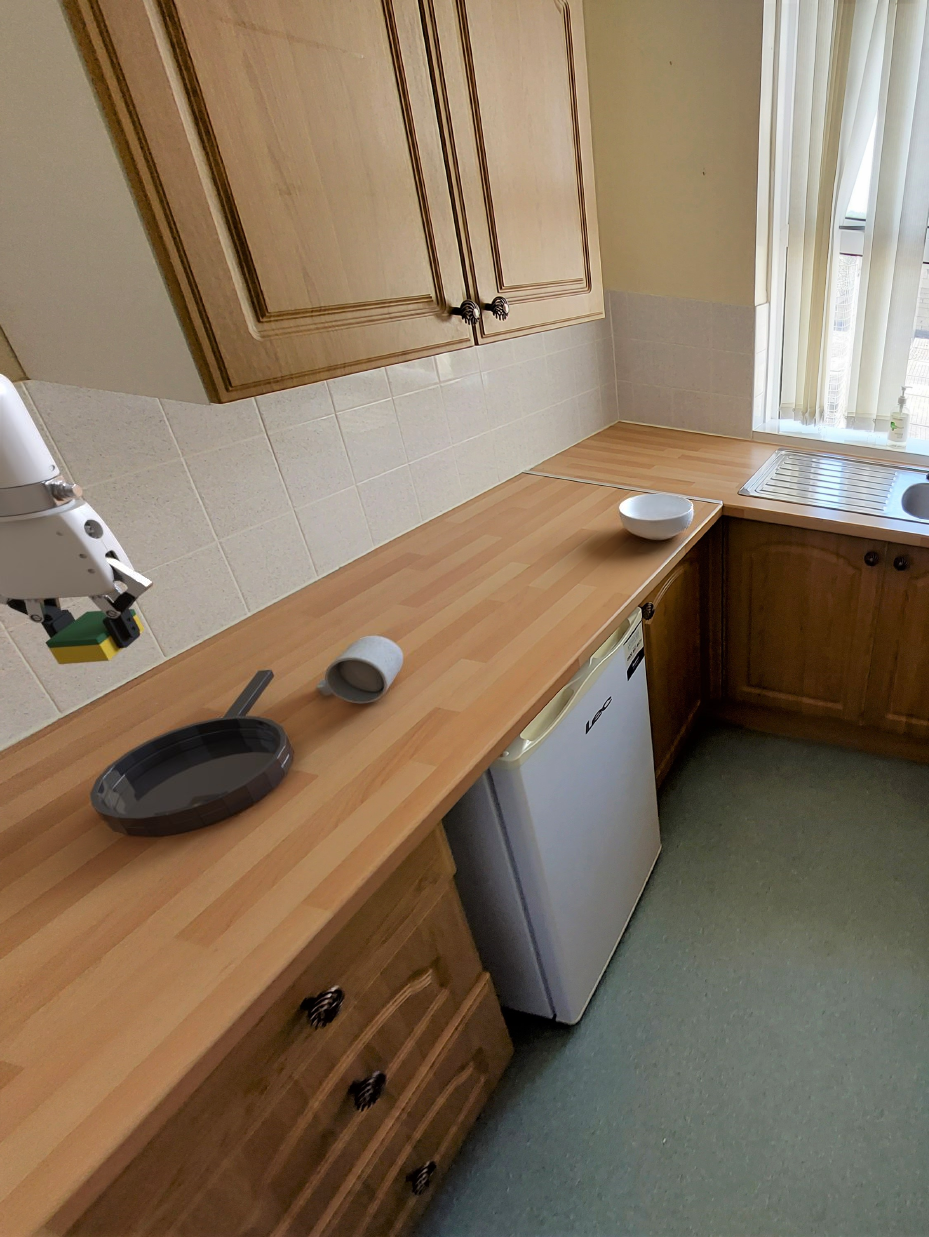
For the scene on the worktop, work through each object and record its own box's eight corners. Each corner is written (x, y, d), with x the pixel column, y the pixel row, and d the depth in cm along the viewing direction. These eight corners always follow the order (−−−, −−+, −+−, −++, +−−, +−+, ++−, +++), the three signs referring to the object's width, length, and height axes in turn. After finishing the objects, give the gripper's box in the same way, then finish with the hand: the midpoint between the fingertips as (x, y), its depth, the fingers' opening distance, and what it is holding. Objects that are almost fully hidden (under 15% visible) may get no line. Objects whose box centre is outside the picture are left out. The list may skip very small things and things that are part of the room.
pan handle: (224, 726, 83) (220, 718, 83) (261, 677, 92) (258, 670, 92) (239, 724, 84) (236, 717, 83) (274, 676, 93) (271, 669, 92)
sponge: (58, 664, 73) (44, 642, 71) (98, 632, 78) (86, 611, 77) (109, 660, 74) (96, 638, 72) (145, 629, 80) (133, 608, 78)
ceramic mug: (412, 670, 100) (398, 627, 96) (393, 702, 93) (377, 658, 89) (335, 674, 98) (318, 631, 94) (309, 708, 91) (290, 663, 87)
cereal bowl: (638, 516, 160) (636, 489, 156) (703, 525, 158) (702, 497, 155) (608, 542, 145) (605, 513, 142) (679, 552, 144) (677, 522, 140)
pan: (66, 853, 68) (49, 830, 66) (157, 746, 82) (145, 725, 81) (261, 825, 73) (250, 803, 71) (316, 728, 87) (307, 708, 85)
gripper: (140, 482, 72) (206, 622, 81) (-62, 485, 67) (32, 633, 77) (96, 506, 66) (173, 654, 75) (-129, 511, 61) (-18, 669, 70)
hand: (101, 642), depth 76 cm, fingers closed on sponge, 4 cm apart
